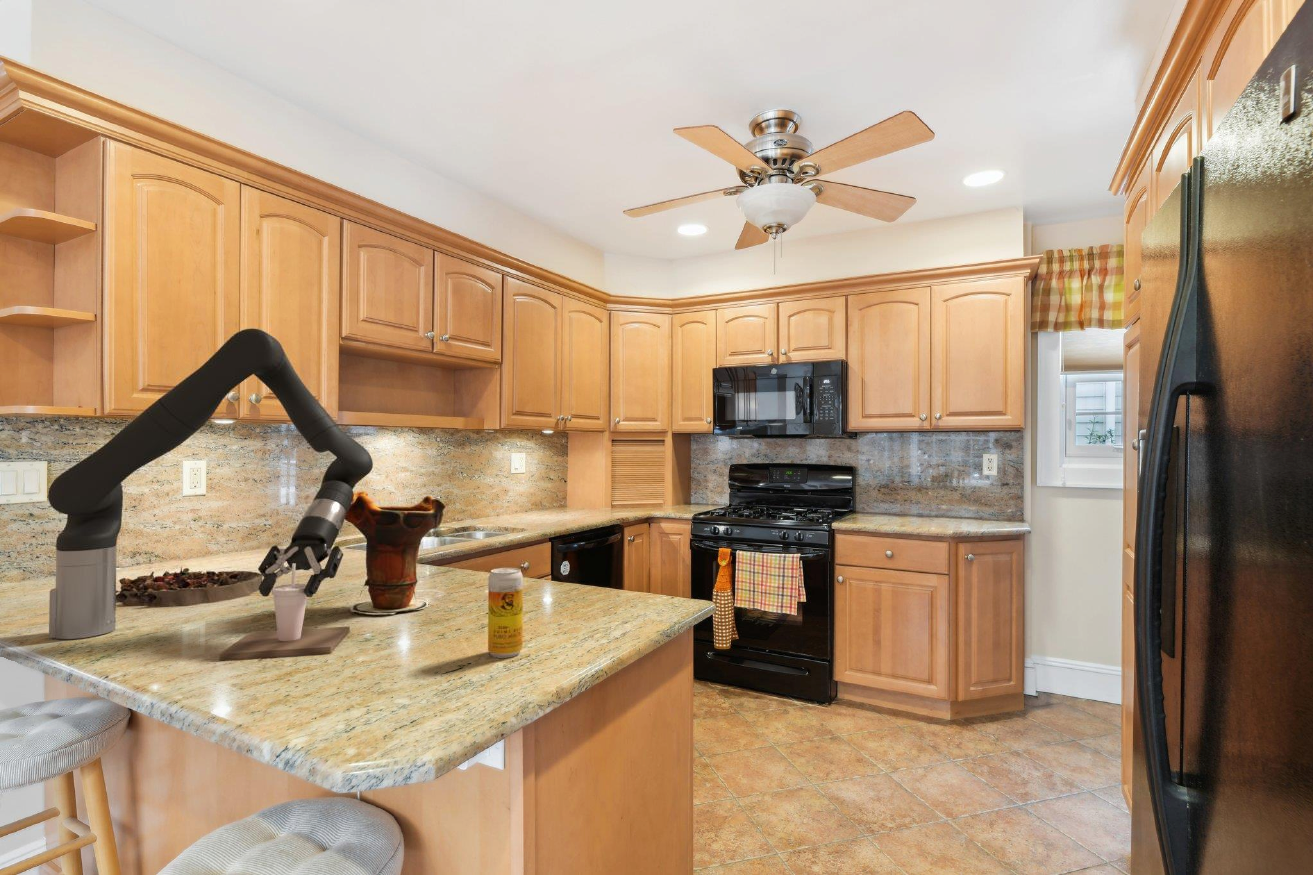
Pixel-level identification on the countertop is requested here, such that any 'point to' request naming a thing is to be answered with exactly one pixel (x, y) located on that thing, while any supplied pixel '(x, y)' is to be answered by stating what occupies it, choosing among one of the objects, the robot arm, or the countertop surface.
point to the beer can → (505, 612)
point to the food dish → (187, 588)
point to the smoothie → (289, 609)
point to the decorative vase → (392, 550)
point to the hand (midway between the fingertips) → (285, 594)
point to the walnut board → (285, 644)
